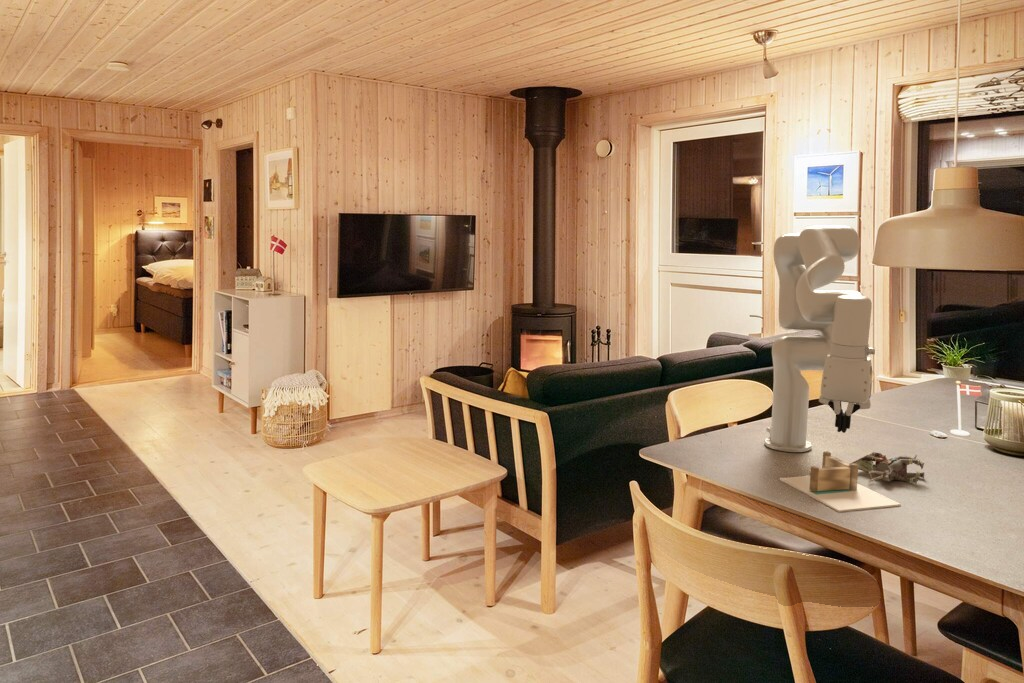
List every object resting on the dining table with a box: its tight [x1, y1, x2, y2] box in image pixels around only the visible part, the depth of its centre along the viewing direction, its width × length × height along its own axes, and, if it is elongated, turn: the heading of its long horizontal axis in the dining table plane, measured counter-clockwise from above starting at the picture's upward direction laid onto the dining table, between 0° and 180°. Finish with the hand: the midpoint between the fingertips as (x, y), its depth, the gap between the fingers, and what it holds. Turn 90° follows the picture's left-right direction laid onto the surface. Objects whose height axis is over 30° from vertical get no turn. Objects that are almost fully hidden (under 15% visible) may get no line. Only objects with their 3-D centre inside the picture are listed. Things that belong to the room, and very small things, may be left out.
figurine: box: [851, 451, 925, 485], centre depth 189 cm, size 20×6×17 cm
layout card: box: [779, 475, 901, 513], centre depth 178 cm, size 22×16×1 cm
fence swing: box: [809, 466, 851, 491], centre depth 177 cm, size 10×2×5 cm, turn 100°
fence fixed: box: [821, 451, 859, 491], centre depth 183 cm, size 12×2×6 cm, turn 14°
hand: (842, 430), depth 171 cm, fingers closed
